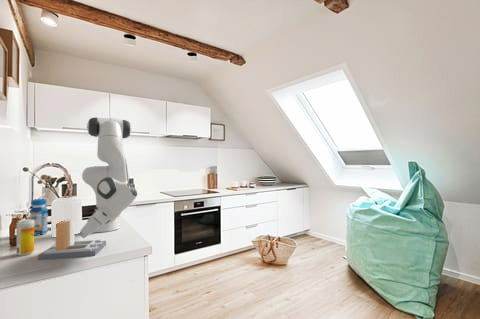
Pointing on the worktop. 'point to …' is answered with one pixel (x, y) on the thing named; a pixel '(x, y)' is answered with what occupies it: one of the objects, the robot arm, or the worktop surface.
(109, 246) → the worktop surface
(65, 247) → the tan wooden block
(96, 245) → the gray compartment tray
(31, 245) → the yellow cylinder
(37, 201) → the blue bottle
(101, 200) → the robot arm
